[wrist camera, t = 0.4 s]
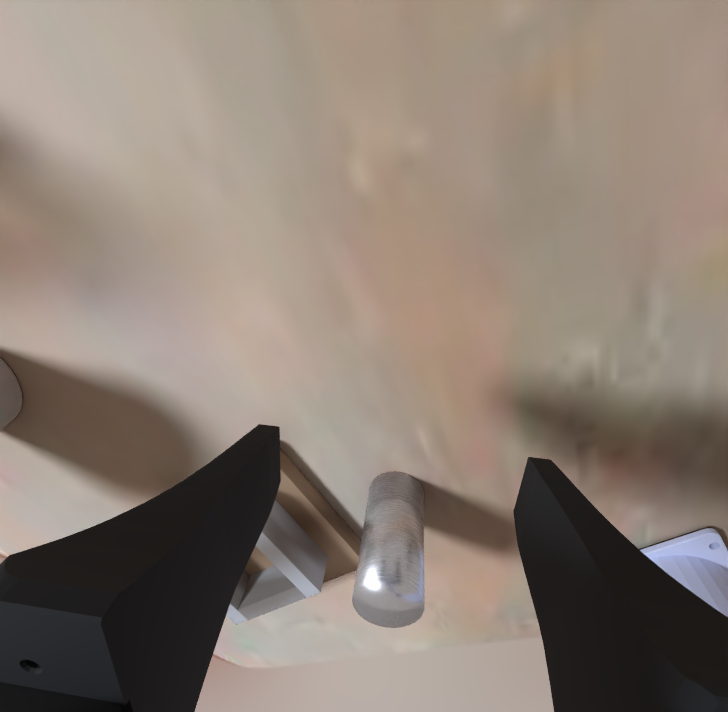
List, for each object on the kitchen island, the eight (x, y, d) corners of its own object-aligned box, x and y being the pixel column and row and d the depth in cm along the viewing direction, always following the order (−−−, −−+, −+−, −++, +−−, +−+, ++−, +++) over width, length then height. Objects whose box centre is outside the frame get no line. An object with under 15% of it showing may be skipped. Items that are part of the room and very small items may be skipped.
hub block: (369, 549, 28) (362, 601, 25) (253, 596, 32) (234, 648, 28) (269, 436, 25) (247, 479, 22) (153, 501, 29) (119, 546, 26)
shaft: (434, 501, 26) (438, 615, 20) (388, 521, 27) (378, 634, 21) (404, 463, 25) (398, 570, 19) (358, 485, 26) (338, 592, 20)
